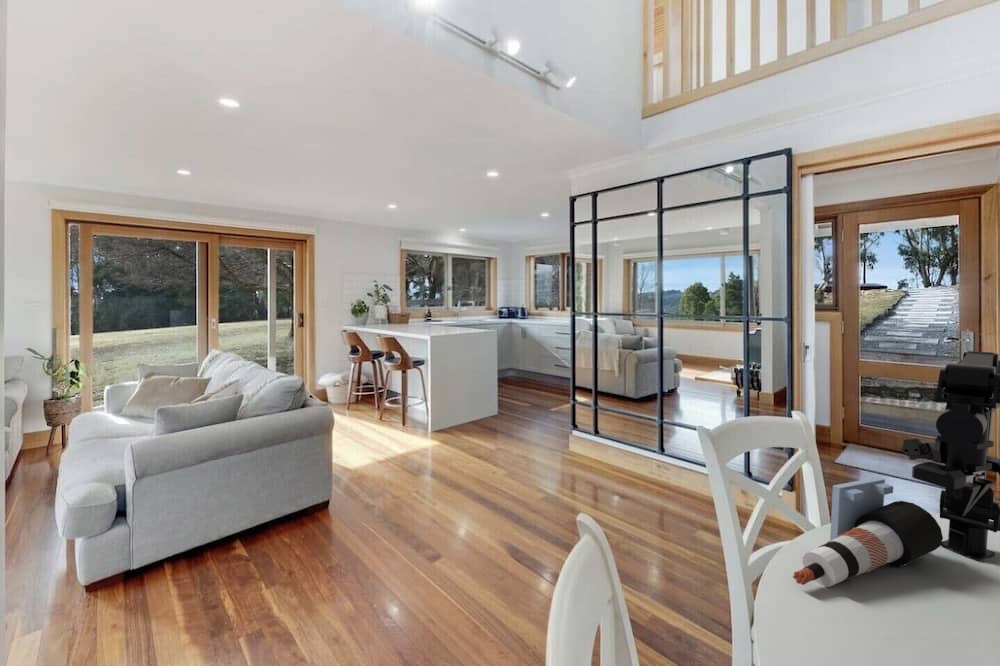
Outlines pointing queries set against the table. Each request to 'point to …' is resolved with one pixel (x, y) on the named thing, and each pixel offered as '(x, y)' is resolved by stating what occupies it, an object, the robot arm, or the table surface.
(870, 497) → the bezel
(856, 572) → the cable
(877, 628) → the table surface
